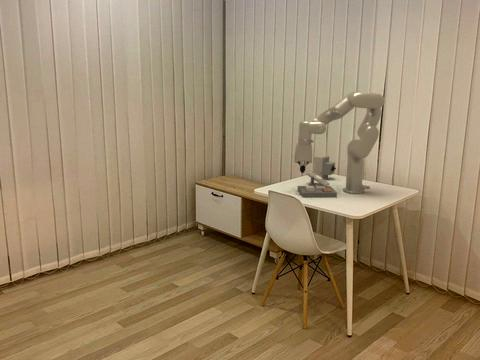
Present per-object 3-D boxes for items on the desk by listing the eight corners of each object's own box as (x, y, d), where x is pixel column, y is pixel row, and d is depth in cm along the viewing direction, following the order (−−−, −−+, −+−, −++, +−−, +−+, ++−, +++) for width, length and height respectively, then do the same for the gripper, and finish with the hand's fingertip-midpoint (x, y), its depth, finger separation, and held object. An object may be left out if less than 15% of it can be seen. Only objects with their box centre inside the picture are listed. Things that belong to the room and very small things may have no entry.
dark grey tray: (330, 190, 289) (330, 185, 289) (336, 197, 274) (336, 192, 273) (297, 190, 288) (297, 185, 287) (302, 197, 273) (302, 192, 272)
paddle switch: (314, 185, 287) (314, 176, 285) (315, 187, 282) (316, 177, 281) (308, 185, 286) (308, 176, 285) (309, 187, 282) (310, 177, 281)
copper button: (329, 193, 279) (329, 188, 279) (331, 195, 275) (331, 190, 274) (322, 193, 279) (322, 188, 278) (323, 195, 275) (324, 190, 274)
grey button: (312, 190, 278) (313, 185, 278) (314, 192, 274) (314, 187, 274) (305, 190, 278) (305, 185, 278) (306, 192, 274) (307, 187, 273)
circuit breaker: (332, 181, 314) (333, 158, 311) (312, 178, 322) (313, 156, 318) (336, 179, 320) (337, 157, 317) (317, 176, 328) (318, 155, 325)
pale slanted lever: (326, 184, 297) (307, 171, 301) (321, 192, 299) (303, 179, 303) (330, 182, 304) (311, 169, 308) (325, 189, 307) (307, 176, 310)
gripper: (315, 141, 282) (313, 171, 286) (290, 140, 281) (288, 170, 285) (318, 143, 275) (316, 174, 279) (292, 142, 274) (290, 173, 278)
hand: (302, 172), depth 282 cm, fingers closed
